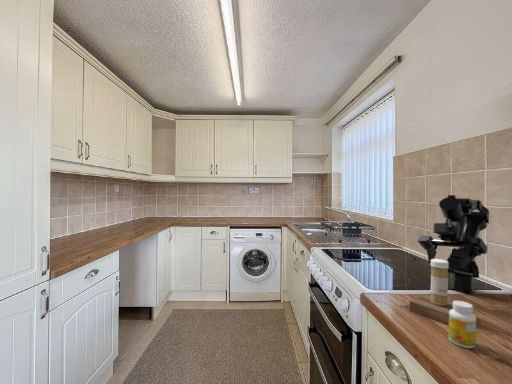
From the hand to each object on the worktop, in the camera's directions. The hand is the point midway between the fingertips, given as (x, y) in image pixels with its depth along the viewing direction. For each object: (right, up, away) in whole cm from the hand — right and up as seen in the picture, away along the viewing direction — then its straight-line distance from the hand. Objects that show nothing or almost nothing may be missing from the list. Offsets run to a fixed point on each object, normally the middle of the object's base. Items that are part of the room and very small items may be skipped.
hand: (445, 265), depth 87 cm
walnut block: (-6, -13, -6) cm, 16 cm away
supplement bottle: (-11, -13, -22) cm, 28 cm away
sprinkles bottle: (-6, -10, -6) cm, 13 cm away
